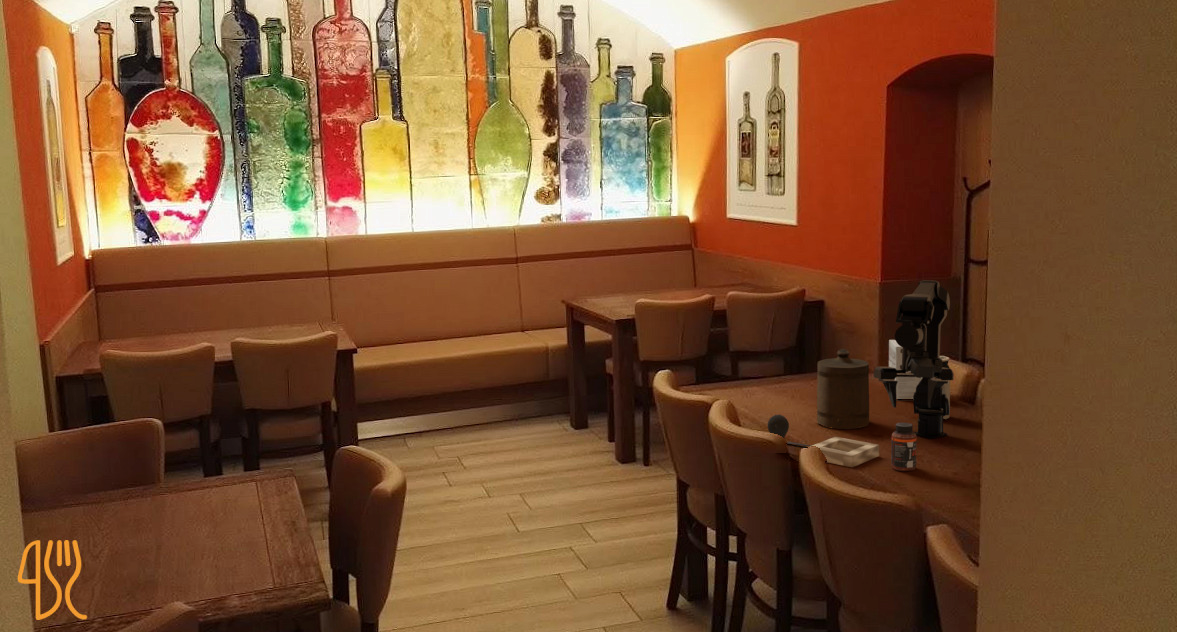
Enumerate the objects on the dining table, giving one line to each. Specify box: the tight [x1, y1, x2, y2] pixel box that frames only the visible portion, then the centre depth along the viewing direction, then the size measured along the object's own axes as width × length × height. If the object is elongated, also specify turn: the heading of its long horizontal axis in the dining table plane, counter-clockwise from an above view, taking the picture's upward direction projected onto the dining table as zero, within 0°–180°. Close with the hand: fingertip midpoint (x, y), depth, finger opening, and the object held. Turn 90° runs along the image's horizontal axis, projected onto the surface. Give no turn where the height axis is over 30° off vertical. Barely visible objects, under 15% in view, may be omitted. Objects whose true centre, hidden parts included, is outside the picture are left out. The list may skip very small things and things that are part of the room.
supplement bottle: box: [890, 422, 918, 472], centre depth 254 cm, size 6×6×11 cm
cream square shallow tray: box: [809, 436, 880, 468], centre depth 266 cm, size 13×13×3 cm
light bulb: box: [767, 414, 790, 439], centre depth 273 cm, size 6×6×10 cm
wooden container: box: [816, 348, 870, 430], centre depth 299 cm, size 15×15×22 cm
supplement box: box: [888, 339, 922, 399], centre depth 330 cm, size 13×13×18 cm
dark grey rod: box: [787, 441, 812, 448], centre depth 277 cm, size 12×1×1 cm, turn 49°
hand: (912, 407), depth 258 cm, fingers open, 9 cm apart
